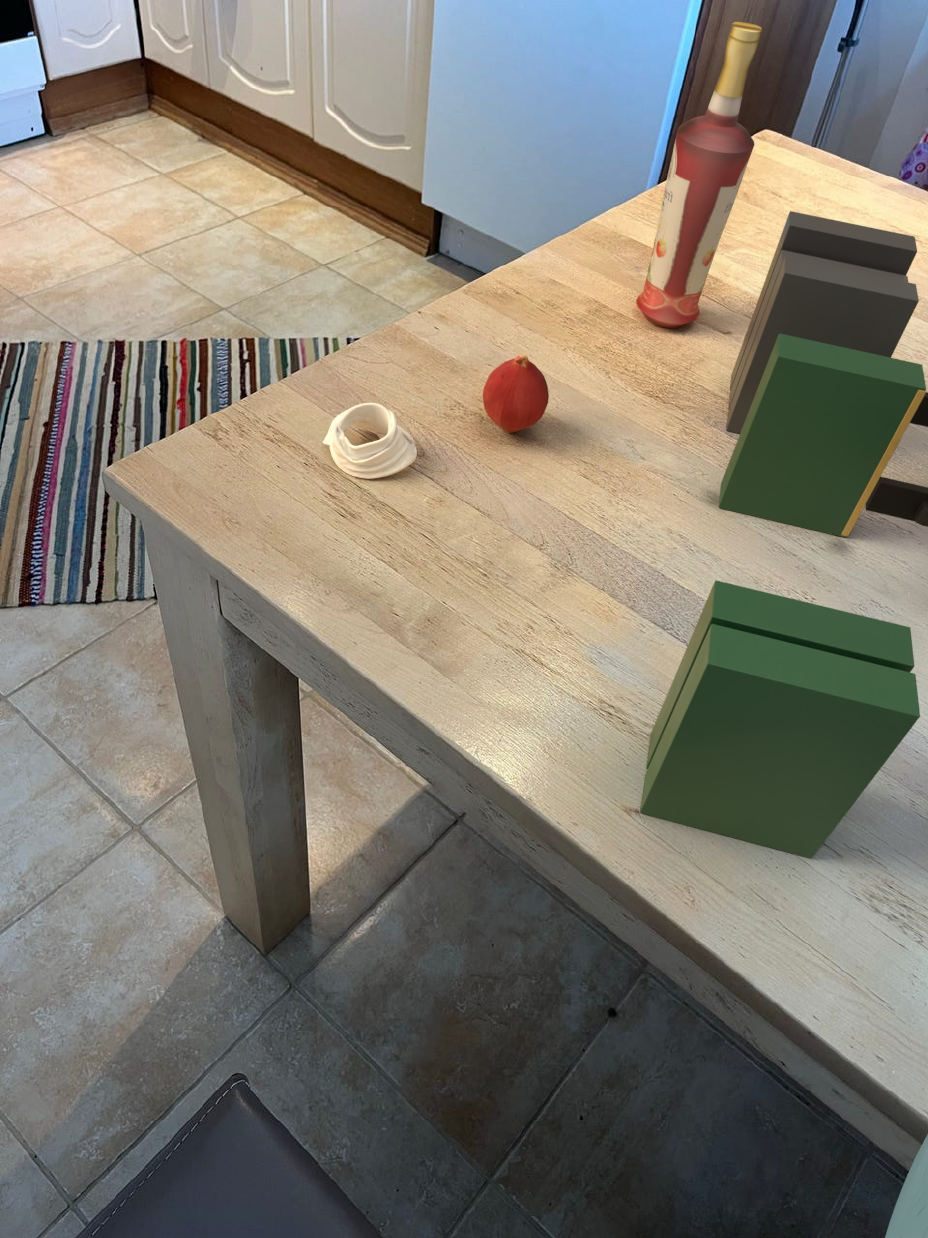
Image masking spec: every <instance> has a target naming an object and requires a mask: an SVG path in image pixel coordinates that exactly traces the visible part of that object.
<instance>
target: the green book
mask: <svg viewBox="0 0 928 1238" xmlns="http://www.w3.org/2000/svg"><path fill="white" fill-rule="evenodd" d="M926 392H927V385H926V379H925V374H924V366H923V364H922V363H917V362H914V361H913V362H912V361H908V360H904V359H898V358H894V357H891V358H890V357H885V356H881V355H876V354H872V353H867V352H862V351H858V350H853V349H849V348H844V347H839V346H835V345H830V344H826V343H821V342H817V341H812V340H807V339H803V338H798V337H794V336H789V335H784V334H779V335H778V337H777V340H776V342H775V345H774V348H773V350H772V353H771V355H770V358H769V361H768V363H767V366H766V368H765V371H764V373H763V376H762V379H761V381H760V384H759V386H758V389H757V391H756V394H755V397H754V399H753V402H752V404H751V407H750V410H749V412H748V415H747V417H746V420H745V422H744V425H743V428H742V430H741V433H740V434H739V436H738V438H737V441H736V443H735V446H734V449H733V451H732V454H731V456H730V458H729V462H728V464H727V466H726V469H725V471H724V474H723V477H722V480H721V482H720V489H719V499H718V508H719V509H723V510H726V511H731V512H735V513H739V514H743V515H749V516H752V517H758V518H761V519H764V520H769V521H773V522H778V523H782V524H787V525H789V526H790V525H791V526H794V527H799V528H804V529H807V530H812V531H815V532H820V533H824V534H829V535H834V536H837V537H840V538H841V537H842V538H847V537H849V535H850V534H851V532H852V530H853V528H854V527H855V524H856V522H857V521H858V519H859V517H860V515H861V513H862V511H863V510H864V508H865V507H866V502H867V500H868V498H869V497H870V495H871V493H872V491H873V489H874V487H875V486H876V484H877V482H878V480H879V478H880V477H882V474H883V473H884V472H885V469H886V467H887V465H888V463H889V462H890V460H891V458H892V456H893V454H894V453H895V450H896V449H897V447H898V445H899V444H900V441H901V440H902V438H903V436H904V434H905V432H906V430H907V428H908V427H909V425H910V424H911V423H910V421H911V419H912V418H913V416H914V414H915V412H916V410H917V408H918V407H919V405H920V403H921V401H922V399H923V397H924V396H925V394H926Z"/></svg>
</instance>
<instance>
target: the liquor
mask: <svg viewBox="0 0 928 1238" xmlns="http://www.w3.org/2000/svg"><path fill="white" fill-rule="evenodd" d="M762 31H763V28H762V27H761V26H759V25H757V24H754V23H751V22H747V21H734V22H732V23H731V26H730V29H729V33H728V37H727V41H726V45H725V51H724V61H723V65H722V68H721V71H720V74H719V77H718V79H717V81H716V84H715V87H714V90H713V93H712V96H711V99H710V100H709V104H708V107H707V110H706V112H705V114H704V115H700V116H694V117H693V118H690V119H689V120H687V121H685V122H683V123H682V124H680V125H679V126H678V128H677V129H676V134H675V140H674V144H673V148H672V149H673V150H672V154H671V159H670V163H669V168H668V173H667V178H666V181H665V187H664V192H663V198H662V203H661V207H660V213H659V219H658V224H657V227H656V233H655V237H654V242H653V245H652V246H653V247H652V251H651V256H650V261H649V265H648V269H647V273H646V278H645V282H644V286H643V291H642V292H641V293H640V294H639V295H638V296H637V298H636V306H637V307H638V309H639V310H640V312H641V314H643V317H644V318H645V319H646V320H647V321H648V322H649V323H651V324H653V325H655V326H657V327H659V328H663V329H664V328H665V329H676V328H680V327H683V326H685V325H687V324H689V323H691V322H694V321H695V320H697V319H698V317H699V316H700V308H699V302H700V299H701V296H702V293H703V289H704V286H705V284H706V281H707V278H708V275H709V272H710V269H711V266H712V263H713V261H714V258H715V255H716V252H717V249H718V246H719V243H720V241H721V238H722V235H723V233H724V230H725V227H726V225H727V222H728V219H729V217H730V214H731V212H732V209H733V206H734V204H735V201H736V200H737V199H736V198H737V196H738V193H739V190H740V187H741V184H742V181H743V178H744V176H745V172H746V169H747V167H748V164H749V161H750V158H751V155H752V153H753V150H754V147H755V141H754V139H753V137H752V136H751V134H750V132H749V131H748V130H747V128H746V127H744V126H743V125H742V124H741V123H739V122H738V120H739V114H740V108H741V105H742V104H741V103H742V100H743V95H744V91H745V85H746V80H747V77H748V76H747V75H748V71H749V68H750V66H751V64H752V61H753V59H754V56H755V54H756V52H757V49H758V46H759V41H760V38H761V36H762Z"/></svg>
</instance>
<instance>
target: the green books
mask: <svg viewBox="0 0 928 1238" xmlns="http://www.w3.org/2000/svg"><path fill="white" fill-rule="evenodd" d="M911 630H912V629H911V627H910V626H908V625H907V626H906V625H902V624H899V623H893V622H890V621H886V620H882V619H878V618H873V617H869V616H865V615H861V614H857V613H853V612H848V611H845V610H841V609H837V608H833V607H827V606H823V605H820V604H816V603H812V602H807V601H803V600H799V599H795V598H791V597H786V596H782V595H778V594H775V593H770V592H766V591H761V590H757V589H754V588H750V587H745V586H741V585H737V584H733V583H729V582H726V581H720V580H715V581H714V582H713V584H712V586H711V590H710V591H709V595H708V596H707V599H706V601H705V603H704V606H703V608H702V610H701V614H700V616H699V618H698V620H697V622H696V625H695V628H694V630H693V632H692V634H691V637H690V638H689V642H688V644H687V647H686V649H685V652H684V653H683V656H682V658H681V661H680V663H679V665H678V668H677V670H676V673H675V674H674V678H673V679H672V682H671V685H670V687H669V690H668V692H667V694H666V697H665V699H664V702H663V703H662V705H661V708H660V711H659V713H658V715H657V718H656V720H655V723H654V725H653V727H652V730H651V732H650V736H649V744H648V750H647V751H648V752H647V758H646V764H645V765H646V766H645V769H646V772H645V774H644V779H643V786H642V787H643V788H642V793H641V795H642V796H641V800H640V801H641V802H640V810H639V813H640V814H643V815H646V816H651V817H655V818H658V819H662V820H666V821H669V822H673V823H677V824H680V825H683V826H688V827H691V828H694V829H695V828H696V829H699V830H702V831H705V832H706V831H707V832H710V833H714V834H717V835H721V836H726V837H730V838H734V839H736V840H741V841H744V842H748V843H751V844H755V845H758V846H763V847H767V848H770V849H775V850H777V851H781V852H785V853H789V854H793V855H795V856H796V855H797V856H800V857H804V858H808V859H813V858H814V856H815V855H816V854H817V853H818V852H819V850H820V849H821V847H823V845H824V843H825V842H826V841H827V840H828V838H829V837H830V836H831V835H832V833H833V832H834V831H835V829H836V828H837V826H838V825H839V824H840V822H841V821H842V820H843V819H844V817H845V816H846V815H847V813H848V812H849V811H850V809H851V808H852V807H853V805H854V804H855V803H856V801H857V800H858V799H859V798H860V796H861V795H862V794H863V792H864V791H865V790H866V789H867V787H868V786H869V784H870V783H871V782H872V781H873V779H874V778H875V777H876V775H877V774H878V773H879V771H880V770H881V769H882V768H883V766H884V765H885V763H887V762H888V760H889V758H890V757H891V755H892V754H893V753H894V752H895V750H896V749H897V747H899V745H900V744H901V742H902V741H903V740H904V739H905V738H906V736H907V735H908V734H909V732H910V731H911V729H912V728H913V727H914V725H915V724H916V723H917V721H918V720H919V719H920V717H921V712H920V703H919V695H918V693H919V692H918V684H917V676H916V675H917V674H916V673H913V672H912V671H913V669H914V668H915V658H914V650H913V649H914V648H913V639H912V631H911Z"/></svg>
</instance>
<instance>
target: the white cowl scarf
mask: <svg viewBox="0 0 928 1238" xmlns="http://www.w3.org/2000/svg"><path fill="white" fill-rule="evenodd" d="M353 425H354V426H356V427H357V428H360V429H363V430H366V431H368V432H370V433H373V434H375V435H376V436H377V437H378V438H379V439H377V440H374V441H371V442H367V443H362V444H360V445H353V444H352V443H351V441H350V440H349V439H348V437H347V436H346V435H345V434H346V432H347V431H348V430H349V429H350V428H351V427H352V426H353ZM322 444H324V445H325V446H327V447H329V452H330V455H331V457H332V460H333V461H334V463H335V465H336V466H337V467H338V468H339V469H340V470H341V471H343V472H344V473H346V474H348V475H349V476H353V477H355V478H359V479H365V480H373V479H379V478H384V477H388V476H391V475H394V474H396V473H399V472H401V471H402V470H405V469H406V468H407V467H409V466H410V465H412V463H414V462H415V461H416V459H417V456H418V449H417V446H416V442H415V440H414V438H413V437H412V436H411V435H410V434H409V433H408V432H407V431H406V430H405V429H404V428H402V427H400V426H399V425H398V419H397V417H396V414H395V413H394V411H392V410H390V409H388V408H387V407H385V406H384V405H382V404H380V403H377V402H364V403H359V404H357V405H356V404H355V405H354V406H352V407H350V408H348V409H346V410H345V411H342V412H341V413H339V414H338V415H337V416H335V418H333V420H332V422H331V423H330V425H329V428H328V431H327V433H326V436H325V437H324V439H323V441H322Z"/></svg>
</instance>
